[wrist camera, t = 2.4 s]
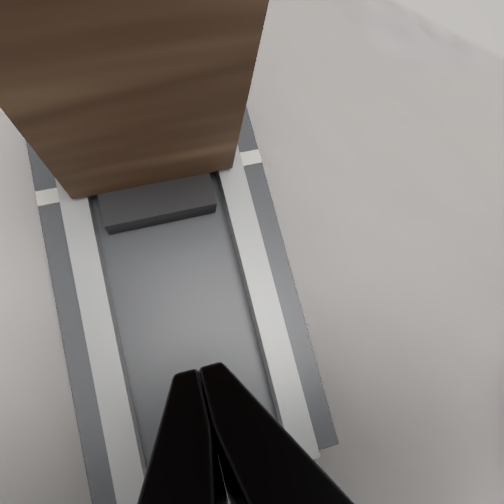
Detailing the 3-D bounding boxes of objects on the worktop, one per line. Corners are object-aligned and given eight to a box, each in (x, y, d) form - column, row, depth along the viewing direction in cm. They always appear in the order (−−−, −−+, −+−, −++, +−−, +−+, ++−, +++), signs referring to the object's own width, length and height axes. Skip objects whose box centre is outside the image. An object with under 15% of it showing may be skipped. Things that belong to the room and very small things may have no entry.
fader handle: (237, 208, 19) (354, -166, 5) (85, 239, 18) (-249, -119, 4) (213, 118, 20) (265, -415, 6) (66, 144, 19) (-274, -427, 5)
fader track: (327, 437, 19) (347, 449, 17) (102, 505, 18) (88, 529, 15) (212, 11, 23) (215, -30, 20) (16, 37, 21) (-7, -3, 19)
